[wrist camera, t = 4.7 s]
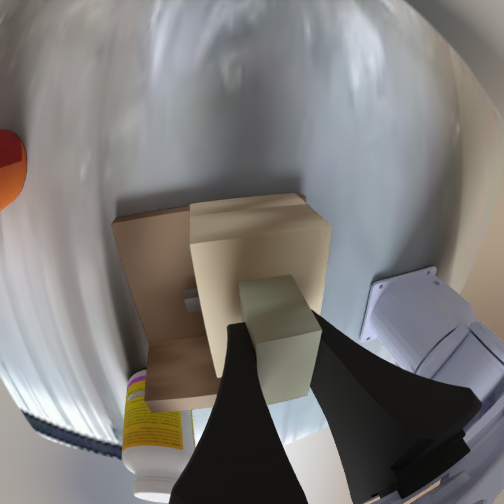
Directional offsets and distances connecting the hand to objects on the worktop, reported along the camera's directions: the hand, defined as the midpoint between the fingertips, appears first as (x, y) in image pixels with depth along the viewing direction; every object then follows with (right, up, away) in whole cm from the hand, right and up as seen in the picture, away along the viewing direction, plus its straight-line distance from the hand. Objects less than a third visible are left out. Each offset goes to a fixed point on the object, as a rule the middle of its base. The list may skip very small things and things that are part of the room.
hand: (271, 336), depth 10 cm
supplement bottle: (-10, -11, +15) cm, 21 cm away
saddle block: (-1, +3, +4) cm, 5 cm away
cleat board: (-3, +1, +10) cm, 11 cm away
